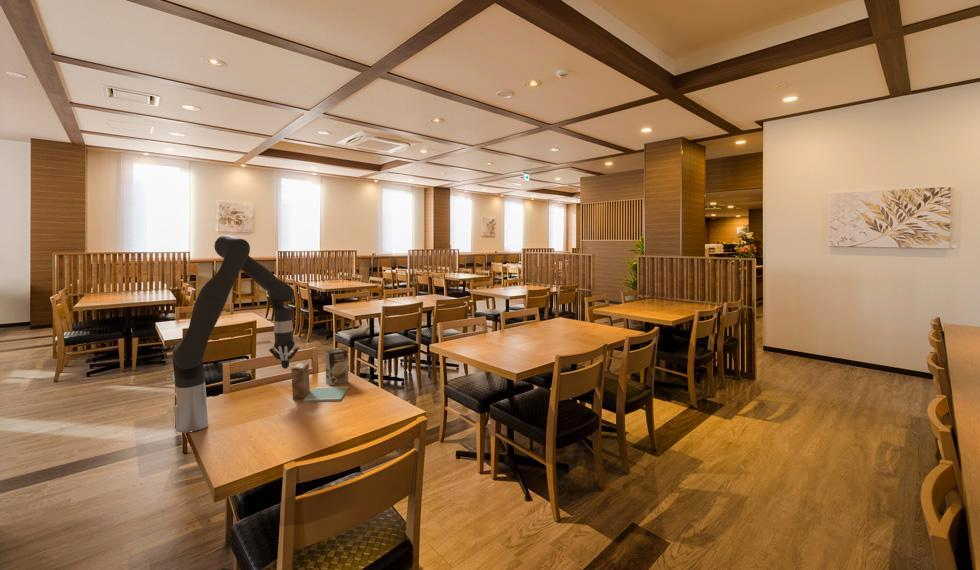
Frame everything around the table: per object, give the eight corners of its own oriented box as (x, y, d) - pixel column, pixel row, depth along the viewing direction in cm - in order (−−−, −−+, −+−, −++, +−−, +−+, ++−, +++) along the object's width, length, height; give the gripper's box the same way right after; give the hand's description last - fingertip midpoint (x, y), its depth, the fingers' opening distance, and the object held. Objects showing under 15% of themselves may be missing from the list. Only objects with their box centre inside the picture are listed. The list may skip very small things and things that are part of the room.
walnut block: (292, 399, 193) (291, 368, 191) (298, 392, 201) (297, 363, 199) (304, 398, 193) (303, 368, 192) (309, 392, 201) (308, 362, 200)
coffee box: (330, 386, 210) (329, 353, 208) (325, 382, 215) (324, 350, 213) (349, 382, 216) (347, 350, 214) (344, 378, 220) (342, 347, 219)
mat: (302, 402, 189) (302, 400, 189) (313, 389, 205) (313, 387, 205) (340, 400, 191) (340, 398, 191) (348, 388, 207) (348, 386, 207)
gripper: (264, 332, 188) (266, 371, 190) (296, 331, 190) (298, 370, 192) (271, 328, 196) (273, 366, 198) (301, 328, 197) (303, 365, 199)
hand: (285, 368), depth 195 cm, fingers closed
